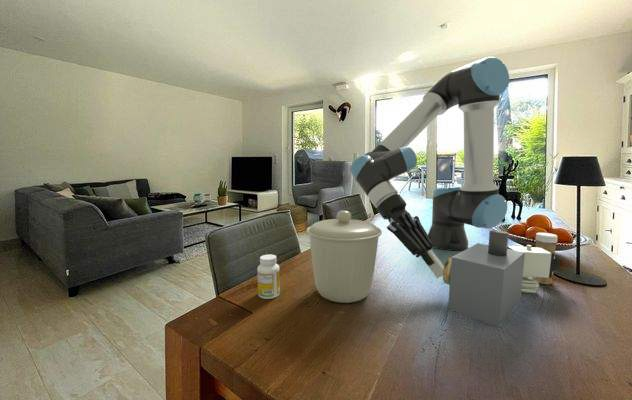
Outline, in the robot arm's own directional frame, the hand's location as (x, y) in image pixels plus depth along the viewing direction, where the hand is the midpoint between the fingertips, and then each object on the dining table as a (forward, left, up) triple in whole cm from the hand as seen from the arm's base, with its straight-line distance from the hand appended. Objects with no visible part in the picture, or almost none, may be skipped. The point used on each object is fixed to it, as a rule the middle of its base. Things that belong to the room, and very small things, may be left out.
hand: (442, 275), depth 70 cm
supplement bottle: (+32, -29, -5) cm, 43 cm away
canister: (+18, -17, -5) cm, 25 cm away
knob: (0, +6, -2) cm, 6 cm away
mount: (-2, +9, -5) cm, 11 cm away
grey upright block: (-4, +10, +7) cm, 13 cm away
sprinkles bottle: (-28, +15, -5) cm, 32 cm away
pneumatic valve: (-18, +13, -5) cm, 23 cm away
